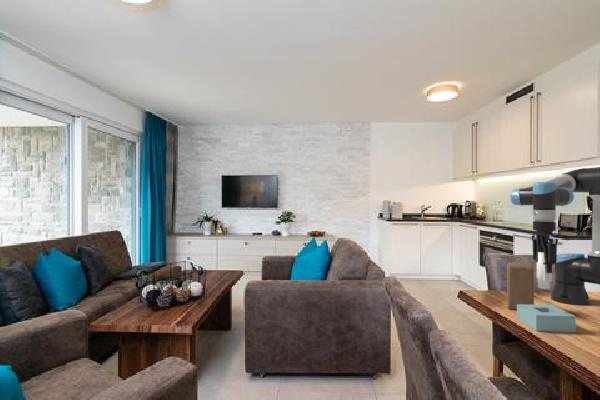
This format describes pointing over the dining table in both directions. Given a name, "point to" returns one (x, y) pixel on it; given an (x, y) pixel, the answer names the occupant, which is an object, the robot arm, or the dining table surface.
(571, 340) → the dining table surface
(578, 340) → the dining table surface
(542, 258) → the peg
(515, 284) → the wooden block
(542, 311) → the socket
